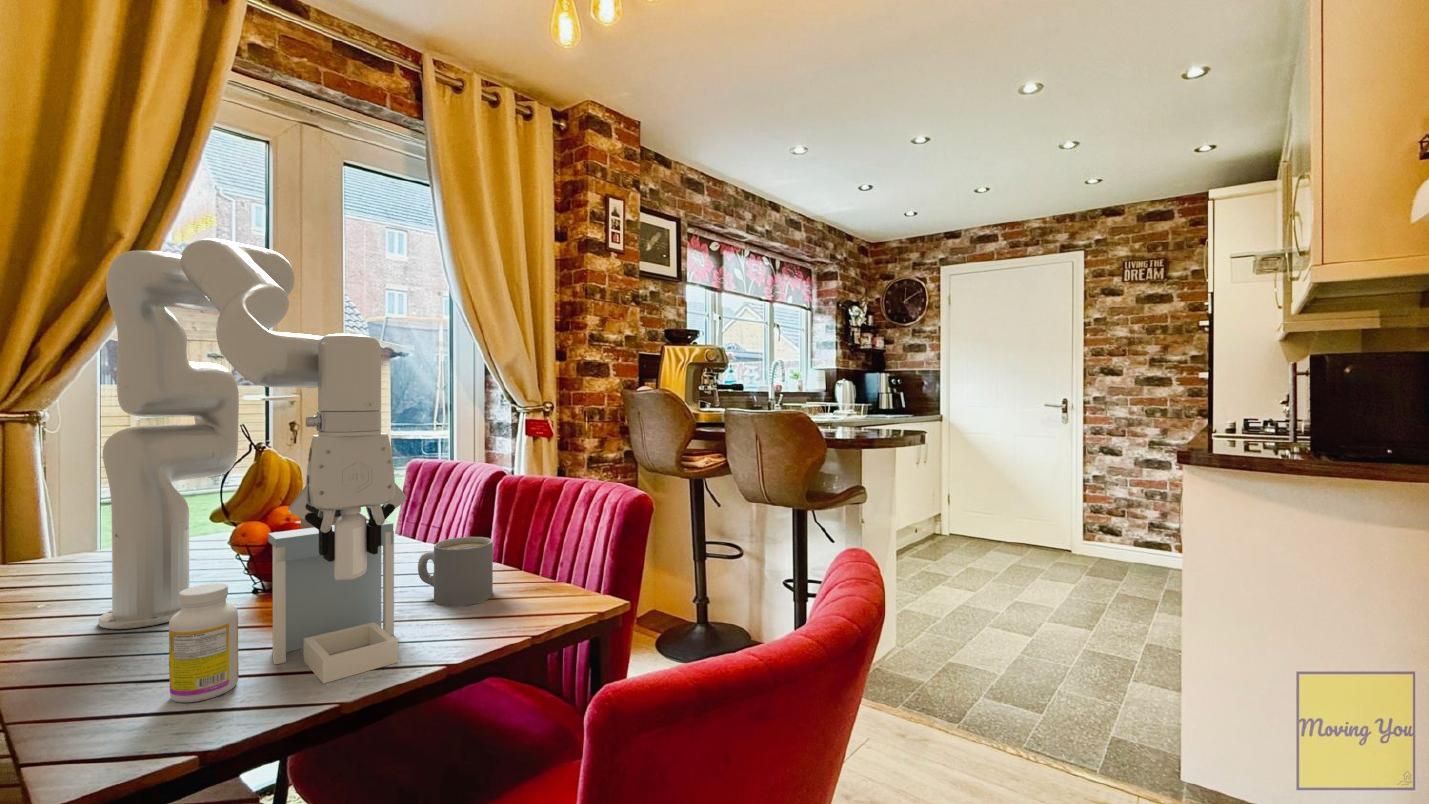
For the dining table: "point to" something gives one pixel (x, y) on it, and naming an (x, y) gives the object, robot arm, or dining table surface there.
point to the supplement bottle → (203, 644)
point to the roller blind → (325, 590)
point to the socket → (350, 651)
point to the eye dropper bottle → (350, 545)
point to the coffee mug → (460, 571)
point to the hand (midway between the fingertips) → (350, 554)
